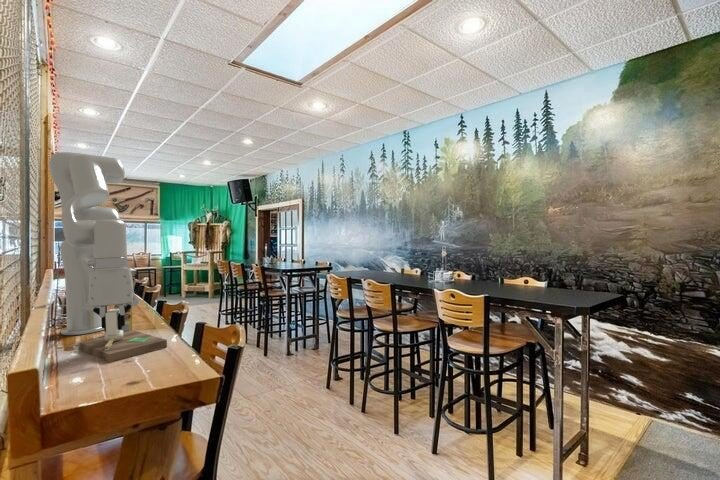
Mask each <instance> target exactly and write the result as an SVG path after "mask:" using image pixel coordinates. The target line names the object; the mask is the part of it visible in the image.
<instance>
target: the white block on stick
mask: <svg viewBox="0 0 720 480" xmlns="http://www.w3.org/2000/svg"><path fill="white" fill-rule="evenodd" d="M118 315H119V309H114V308H112V309H111V308H110V309H109V310H107V313H105V316H106V332H104V334H103V337H104V340H105V341H106V342H108V343H107V344H106V345H105V348H109V346H110V345H111V344H112V343H113V341H117V340H121V339H123V330H118Z"/></svg>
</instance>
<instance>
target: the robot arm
mask: <svg viewBox="0 0 720 480" xmlns="http://www.w3.org/2000/svg"><path fill="white" fill-rule="evenodd" d="M48 162H49V171H50V172H49V173H50V175H51V178H52V180H53V183H54V185H55V186H56V188H57V190H58V193H59V197H60V203H61V204H60V205H61V216H60V217H61V225H62V226H61V227H62V231H63V236H64V240H63V241H62V242H61V244H60V256H61V260H62V265H63V271H64V281H65V282H64V283H65V304H66V305H65V306H66V308H65V309H66V327H65V328H62V329H61V330H60V334H61V335H63V336H79V335H86V334H92V333H96V332H101V331H104V333H106V316H105V313H107V312H108V307H109V306H114V305H119V315H118V330H121V329H122V328H123V326H125V313H126V312H127V311H128V310H129V309H130V308H132V309H133V308H134V307H136V306H138V305H139V304H140V300H139V298H138V297H137V295H136V294H135V289H134V280H133V273H132V269H131V267H128V249H127V247H128V246H127V245H128V244H127V224H126V223H125V222H124V221H123V220H121V217H120V214H119V211H117V210H116V209H115V208H113V207H110V206H109V207H108V206H100V205H103V204H104V203H106V202H107V201H108V199H109V198H110V191H109V188H108V184H120V183H122V182H123V181H124V179H125V175H126V173H125V167H124V165H123V163H122V161H121V160H120V159H118V158H115V157H109V156H104V155H95V154H86V153H81V152H69V151H67V152H66V151H63V152H61V151H60V152H55V153H53V154H52V155H51V156H50V158H49V161H48ZM130 302H132V303H130ZM128 303H130V304H128ZM125 304H128V305H127V306H125Z"/></svg>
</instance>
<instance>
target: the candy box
mask: <svg viewBox="0 0 720 480" xmlns="http://www.w3.org/2000/svg"><path fill="white" fill-rule="evenodd" d="M130 303H132V302H130ZM130 303H128V304H130ZM128 304H125V306H127V305H128ZM113 306H114V308H113V309H119V305H113ZM121 330H123V333H125V332H129V331H133V307H132V308H130V309H129V310H128V311H127V312H126V313H125V326H123V328H122V329H121Z"/></svg>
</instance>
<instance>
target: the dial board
mask: <svg viewBox="0 0 720 480" xmlns="http://www.w3.org/2000/svg"><path fill="white" fill-rule="evenodd" d="M167 342H168V341H167V339H165V338H162V337H158V336H155V335H151V334H147V333H144V332H141V331H137V330H132V331H129V332H125V333H123V339H121V340H117V341H113V343H112V344H111V345H110V346H109V348H105V345H106V344H107V343H108V342H106V341H105V340H104V336H101V337H97V338H92V339H88V340H82V341H79V342H78V343H79V344H78V348H79V350H80V351H82V352H85V353H86V354H89V355H91V356H94V357H96V358H99V359H100V360H103V361H105V362H108V363H113V362H115V361H119V360H123V359H127V358H130V357H135V356H137V355H143V354H146V353H149V352H153V351H156V350H160V349H165V348H167V347H168V343H167ZM164 347H165V348H164Z"/></svg>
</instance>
